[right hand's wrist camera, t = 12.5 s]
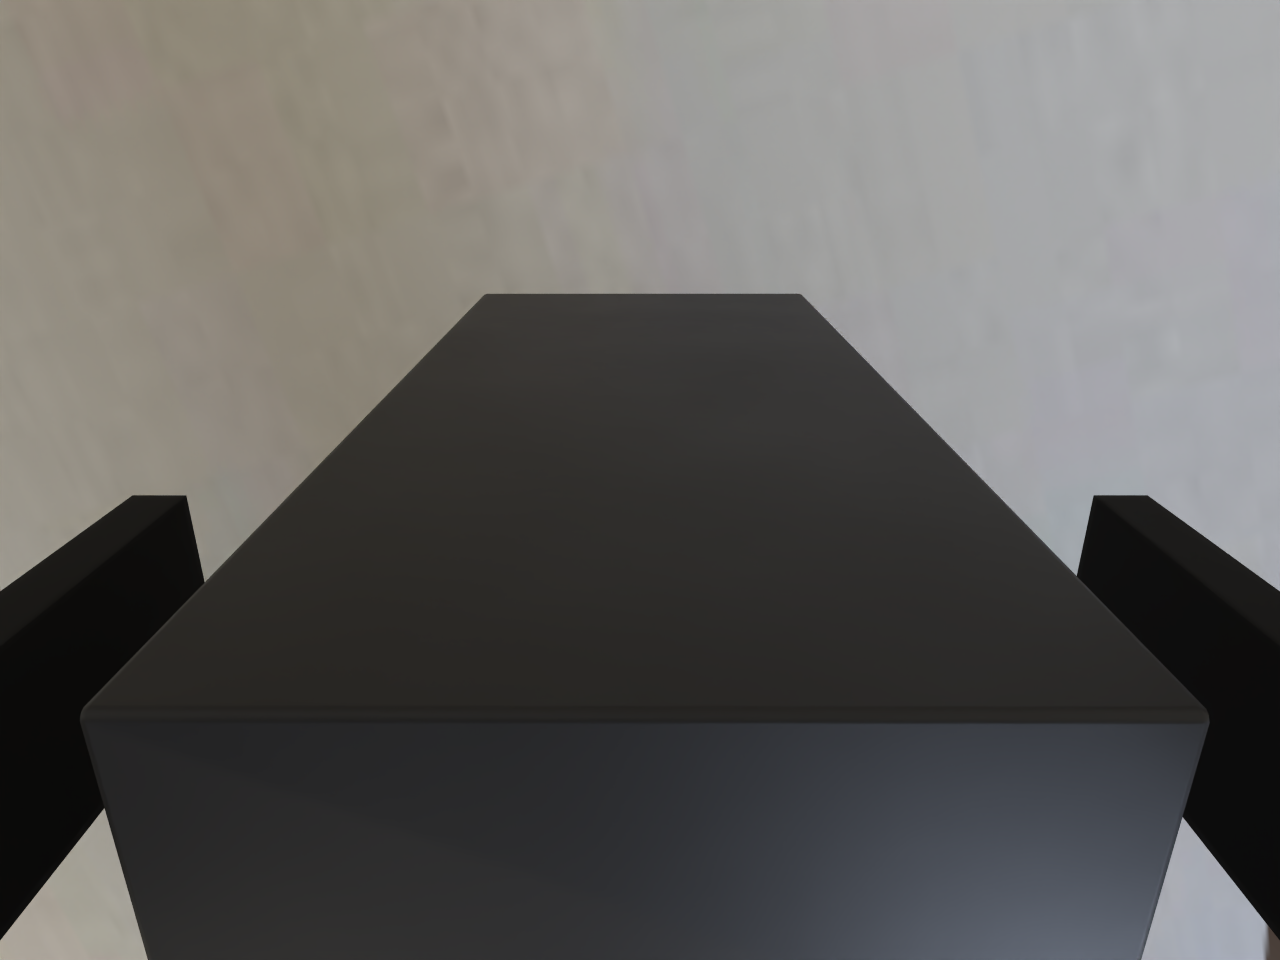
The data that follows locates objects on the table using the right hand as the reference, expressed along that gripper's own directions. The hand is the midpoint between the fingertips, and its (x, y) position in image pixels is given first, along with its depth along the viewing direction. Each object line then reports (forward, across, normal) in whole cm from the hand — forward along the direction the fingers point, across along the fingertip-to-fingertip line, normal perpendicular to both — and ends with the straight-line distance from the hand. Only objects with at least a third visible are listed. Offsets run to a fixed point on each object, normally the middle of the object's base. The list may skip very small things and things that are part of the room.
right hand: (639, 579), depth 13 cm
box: (+5, 0, -10) cm, 11 cm away
